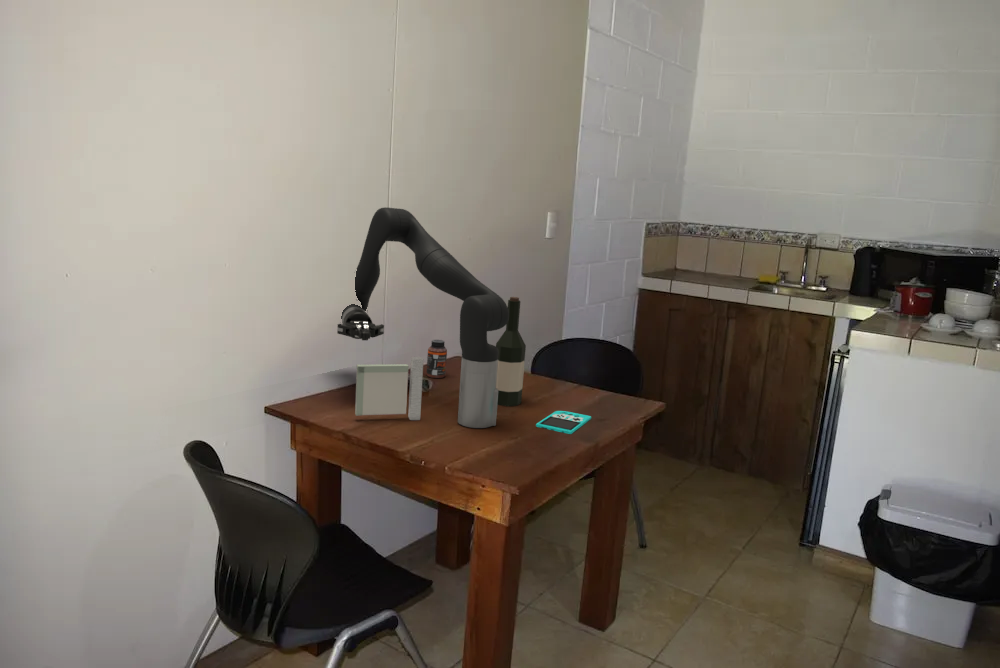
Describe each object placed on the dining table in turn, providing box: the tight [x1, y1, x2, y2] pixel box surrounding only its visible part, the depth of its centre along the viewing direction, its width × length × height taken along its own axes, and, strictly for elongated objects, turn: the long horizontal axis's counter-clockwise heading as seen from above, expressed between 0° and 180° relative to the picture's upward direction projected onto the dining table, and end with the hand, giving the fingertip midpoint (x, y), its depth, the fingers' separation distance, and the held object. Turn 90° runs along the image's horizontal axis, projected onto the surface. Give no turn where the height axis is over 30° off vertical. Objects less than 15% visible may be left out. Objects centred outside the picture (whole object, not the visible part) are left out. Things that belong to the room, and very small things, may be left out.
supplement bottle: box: [426, 339, 448, 379], centre depth 240 cm, size 6×6×11 cm
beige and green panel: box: [354, 363, 410, 417], centre depth 195 cm, size 13×2×13 cm, turn 108°
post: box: [407, 356, 424, 421], centre depth 198 cm, size 3×3×16 cm
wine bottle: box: [495, 296, 526, 407], centre depth 217 cm, size 8×8×30 cm
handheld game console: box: [535, 410, 592, 435], centre depth 205 cm, size 10×16×1 cm, turn 154°
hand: (365, 336), depth 199 cm, fingers closed
